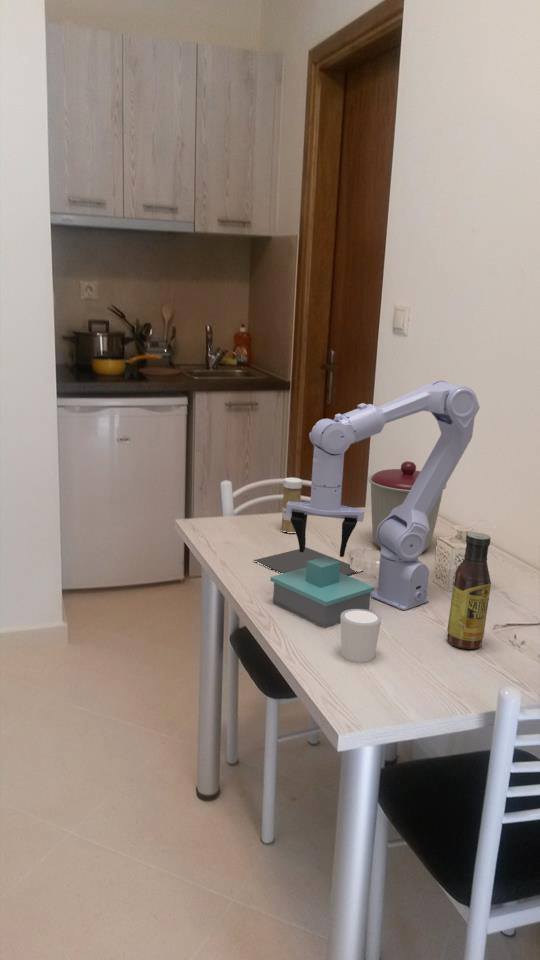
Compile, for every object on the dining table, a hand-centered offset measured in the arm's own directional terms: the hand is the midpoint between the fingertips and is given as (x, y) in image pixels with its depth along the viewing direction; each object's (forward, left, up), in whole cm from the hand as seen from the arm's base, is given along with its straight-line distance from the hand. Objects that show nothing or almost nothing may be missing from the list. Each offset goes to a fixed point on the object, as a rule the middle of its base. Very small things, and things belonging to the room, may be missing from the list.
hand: (322, 553), depth 153 cm
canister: (+13, -41, -11) cm, 44 cm away
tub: (-2, +1, -10) cm, 11 cm away
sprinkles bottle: (+37, -27, -11) cm, 47 cm away
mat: (+16, -13, -10) cm, 23 cm away
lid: (-2, +1, -7) cm, 7 cm away
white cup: (-20, +10, -11) cm, 24 cm away
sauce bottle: (-28, -9, -11) cm, 31 cm away
